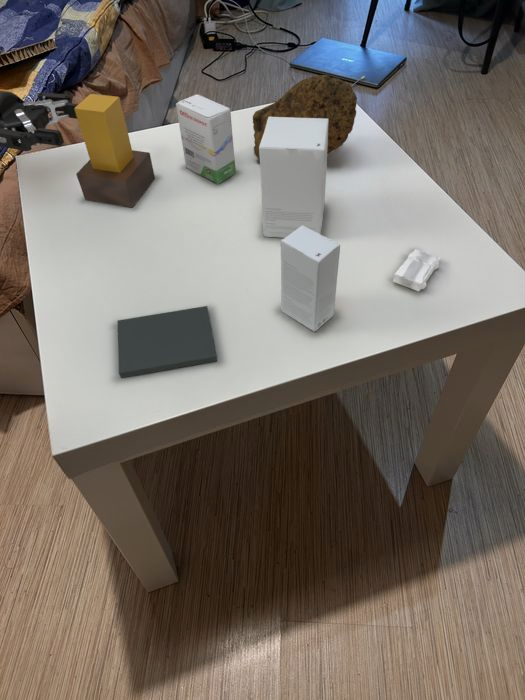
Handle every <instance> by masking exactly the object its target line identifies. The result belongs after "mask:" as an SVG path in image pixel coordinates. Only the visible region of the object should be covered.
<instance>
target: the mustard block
mask: <svg viewBox="0 0 525 700" xmlns="http://www.w3.org/2000/svg"><path fill="white" fill-rule="evenodd" d="M78 104H79V105H77V106H76V107H75V108H74V109H75V112H76V116H77V122H78V125H79V128H80V131H81V135H82V138H83V142H84V145H85V148H86V151H87V154H88V157H89V160H90V161H91V164H92V167H93V169H98V170H104V171H111V172H118V173H120V172H121V171H122V170H123V169H124V168H125V167H126V165H127V164H128V163H129V162H130V161H131V160H132V158H133V157H134V156H133V152H132V150H133V148H132V144H131V139H130V136H129V132H128V127H127V123H126V119H125V114H124V110H123V106H122V102H121V98H120V96H116V95H115V96H114V95H107V94H106V95H105V94H96V93H89V94H88V96H86V97H85V98H84V99H83V100H81V102H80V103H78Z"/></svg>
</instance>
